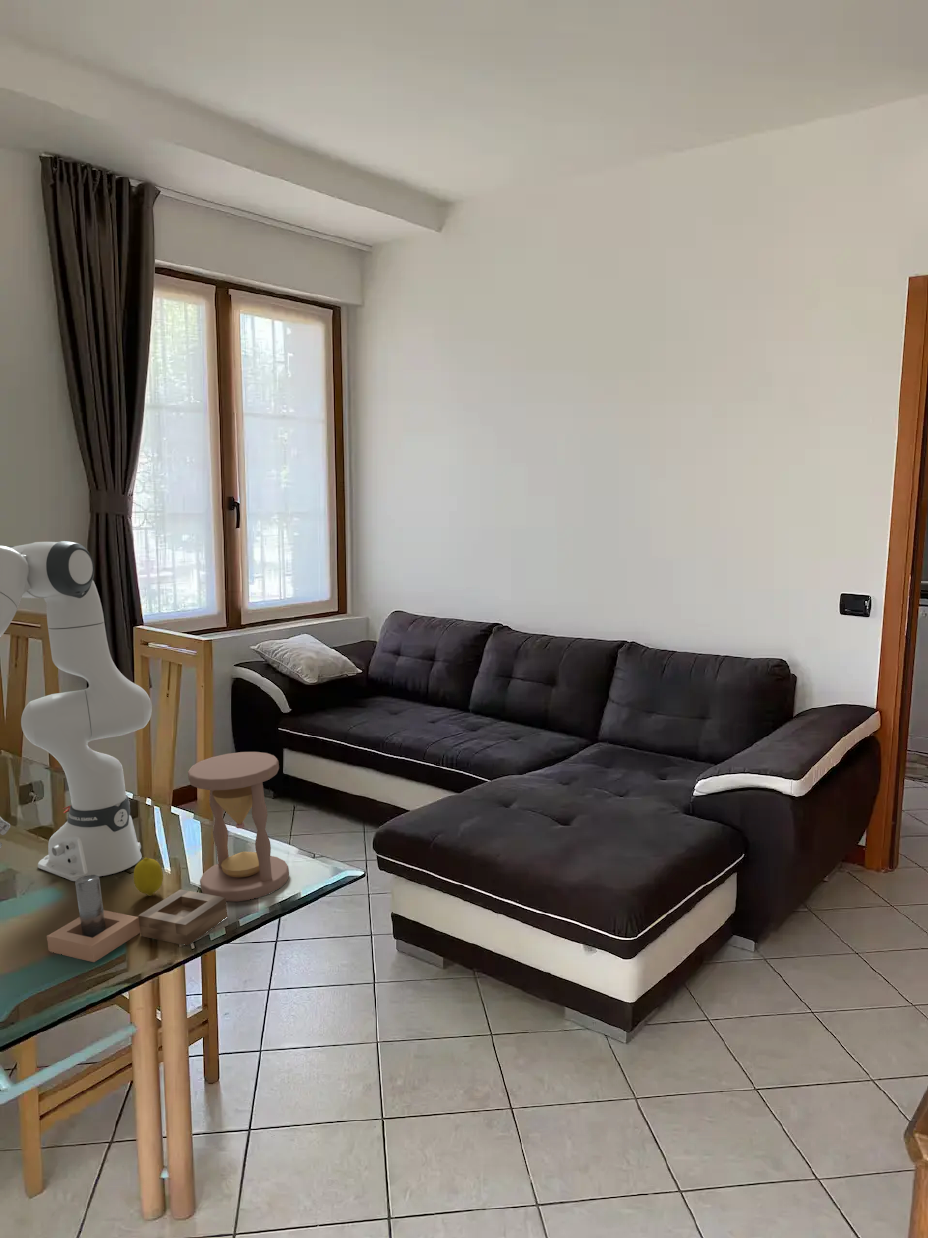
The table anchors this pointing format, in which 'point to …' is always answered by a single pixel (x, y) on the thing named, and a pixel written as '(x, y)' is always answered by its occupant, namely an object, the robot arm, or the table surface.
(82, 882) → the steel peg
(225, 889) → the hourglass
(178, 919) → the square peg hole block
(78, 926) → the socket collar
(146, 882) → the lemon
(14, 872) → the table surface
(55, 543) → the robot arm
